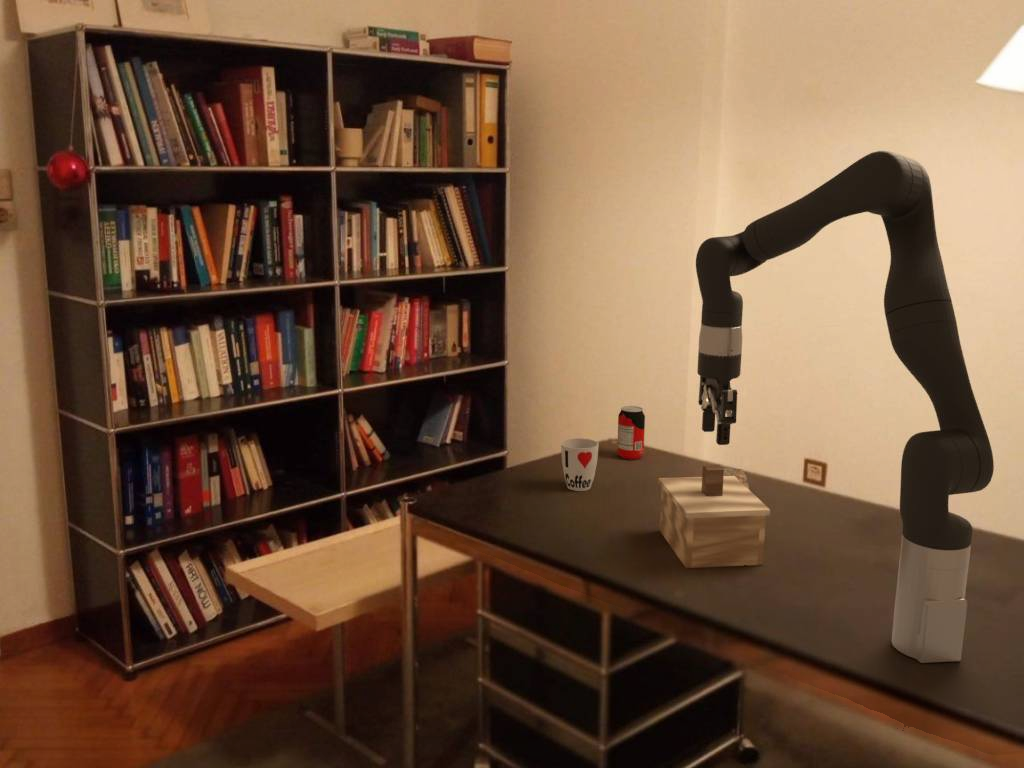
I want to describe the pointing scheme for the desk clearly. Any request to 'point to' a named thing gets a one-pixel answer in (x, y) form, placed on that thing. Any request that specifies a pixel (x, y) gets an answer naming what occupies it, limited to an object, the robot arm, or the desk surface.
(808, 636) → the desk surface
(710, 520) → the box
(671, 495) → the lid
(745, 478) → the rock
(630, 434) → the beverage can
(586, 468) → the cup
